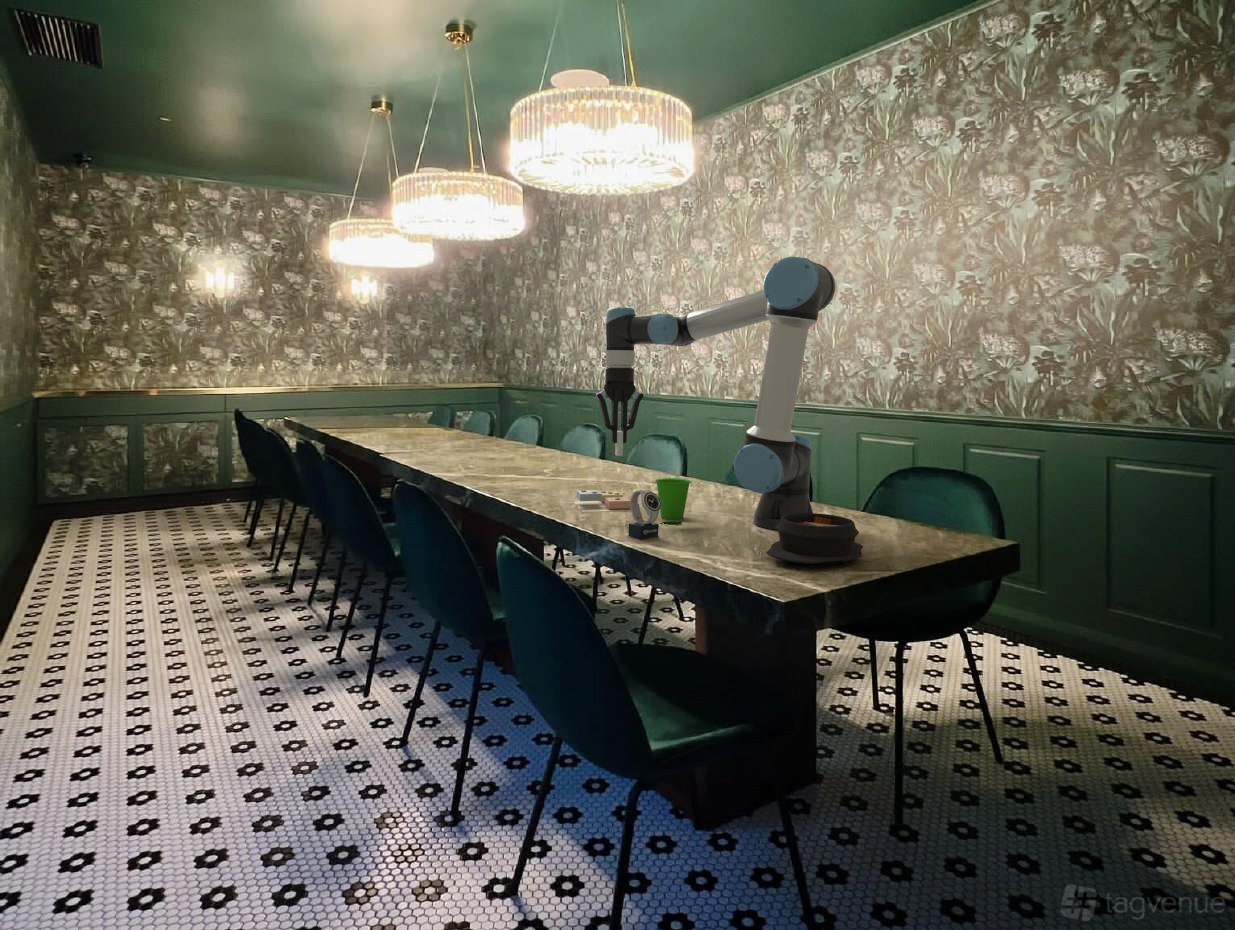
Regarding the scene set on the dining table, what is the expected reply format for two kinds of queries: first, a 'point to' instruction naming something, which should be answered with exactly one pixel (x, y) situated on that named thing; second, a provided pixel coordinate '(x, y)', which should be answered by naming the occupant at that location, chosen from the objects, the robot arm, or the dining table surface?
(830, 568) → the dining table surface
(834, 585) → the dining table surface
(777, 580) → the dining table surface
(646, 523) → the watch
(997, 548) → the dining table surface
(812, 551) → the casserole
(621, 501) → the tile one
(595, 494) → the tile two
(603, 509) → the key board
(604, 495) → the tile three
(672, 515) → the cup
